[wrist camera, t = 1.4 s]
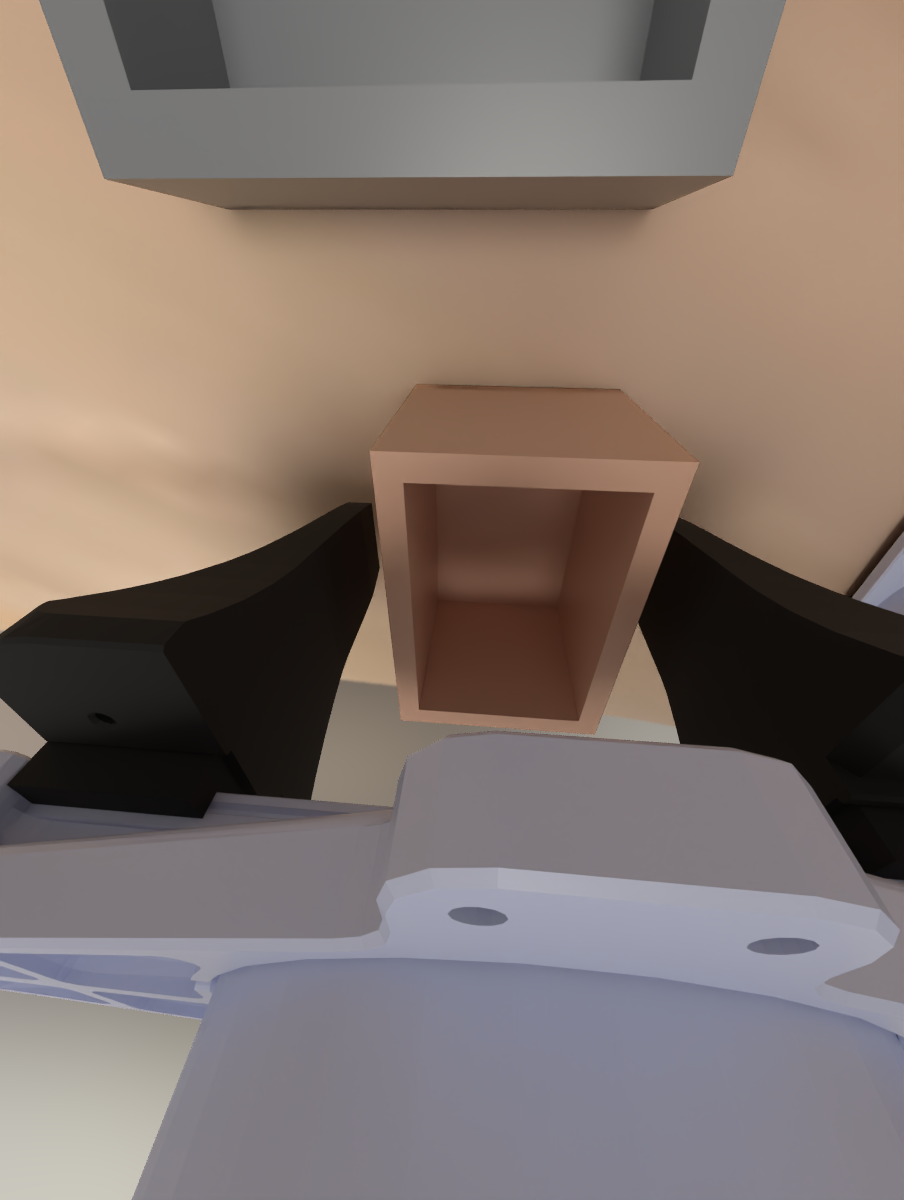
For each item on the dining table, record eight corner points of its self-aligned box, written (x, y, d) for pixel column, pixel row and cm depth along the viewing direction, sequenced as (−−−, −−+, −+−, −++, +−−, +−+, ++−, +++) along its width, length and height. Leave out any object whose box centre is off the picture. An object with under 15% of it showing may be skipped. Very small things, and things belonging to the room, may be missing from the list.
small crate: (619, 389, 10) (700, 462, 6) (567, 609, 14) (594, 734, 10) (416, 384, 10) (369, 450, 6) (425, 601, 15) (400, 720, 11)
